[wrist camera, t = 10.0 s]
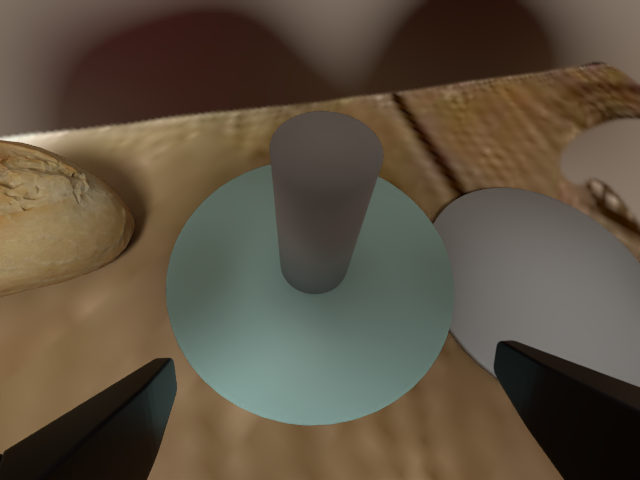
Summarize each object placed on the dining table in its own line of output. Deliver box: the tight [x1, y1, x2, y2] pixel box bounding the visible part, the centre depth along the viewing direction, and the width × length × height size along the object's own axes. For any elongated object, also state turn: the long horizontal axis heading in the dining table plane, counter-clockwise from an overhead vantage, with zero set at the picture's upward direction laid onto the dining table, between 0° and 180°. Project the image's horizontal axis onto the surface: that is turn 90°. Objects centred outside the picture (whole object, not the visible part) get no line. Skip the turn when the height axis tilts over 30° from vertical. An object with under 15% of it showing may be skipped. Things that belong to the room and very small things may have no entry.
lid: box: [166, 111, 454, 425], centre depth 14 cm, size 15×15×9 cm
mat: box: [433, 188, 640, 387], centre depth 23 cm, size 17×17×1 cm
